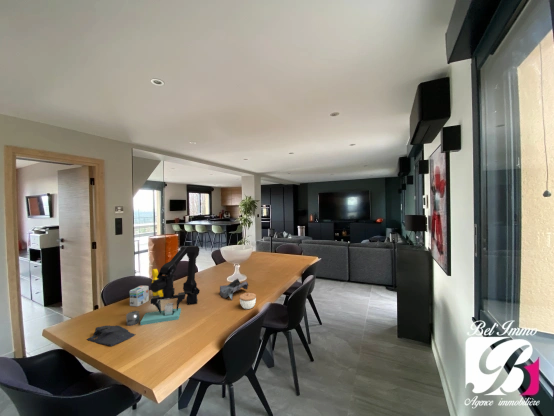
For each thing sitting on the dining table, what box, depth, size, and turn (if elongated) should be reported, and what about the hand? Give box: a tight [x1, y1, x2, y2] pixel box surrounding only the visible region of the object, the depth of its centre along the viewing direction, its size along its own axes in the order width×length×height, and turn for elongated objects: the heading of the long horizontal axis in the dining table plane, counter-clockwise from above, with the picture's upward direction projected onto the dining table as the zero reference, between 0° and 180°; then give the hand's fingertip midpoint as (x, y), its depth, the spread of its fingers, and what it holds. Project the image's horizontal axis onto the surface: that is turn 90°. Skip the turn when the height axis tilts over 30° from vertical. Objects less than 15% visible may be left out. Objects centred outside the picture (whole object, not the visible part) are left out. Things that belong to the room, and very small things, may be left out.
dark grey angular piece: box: [219, 278, 250, 301], centre depth 172 cm, size 18×20×9 cm
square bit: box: [164, 302, 174, 316], centre depth 138 cm, size 4×4×8 cm
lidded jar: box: [239, 292, 257, 310], centre depth 148 cm, size 11×11×9 cm
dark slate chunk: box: [86, 324, 136, 347], centre depth 118 cm, size 15×22×5 cm
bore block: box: [139, 307, 182, 326], centre depth 137 cm, size 20×11×2 cm, turn 106°
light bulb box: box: [129, 285, 150, 307], centre depth 160 cm, size 11×7×11 cm, turn 168°
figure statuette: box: [151, 268, 163, 297], centre depth 169 cm, size 18×8×22 cm, turn 62°
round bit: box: [125, 310, 141, 327], centre depth 131 cm, size 6×6×6 cm
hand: (169, 311), depth 138 cm, fingers open, 9 cm apart
